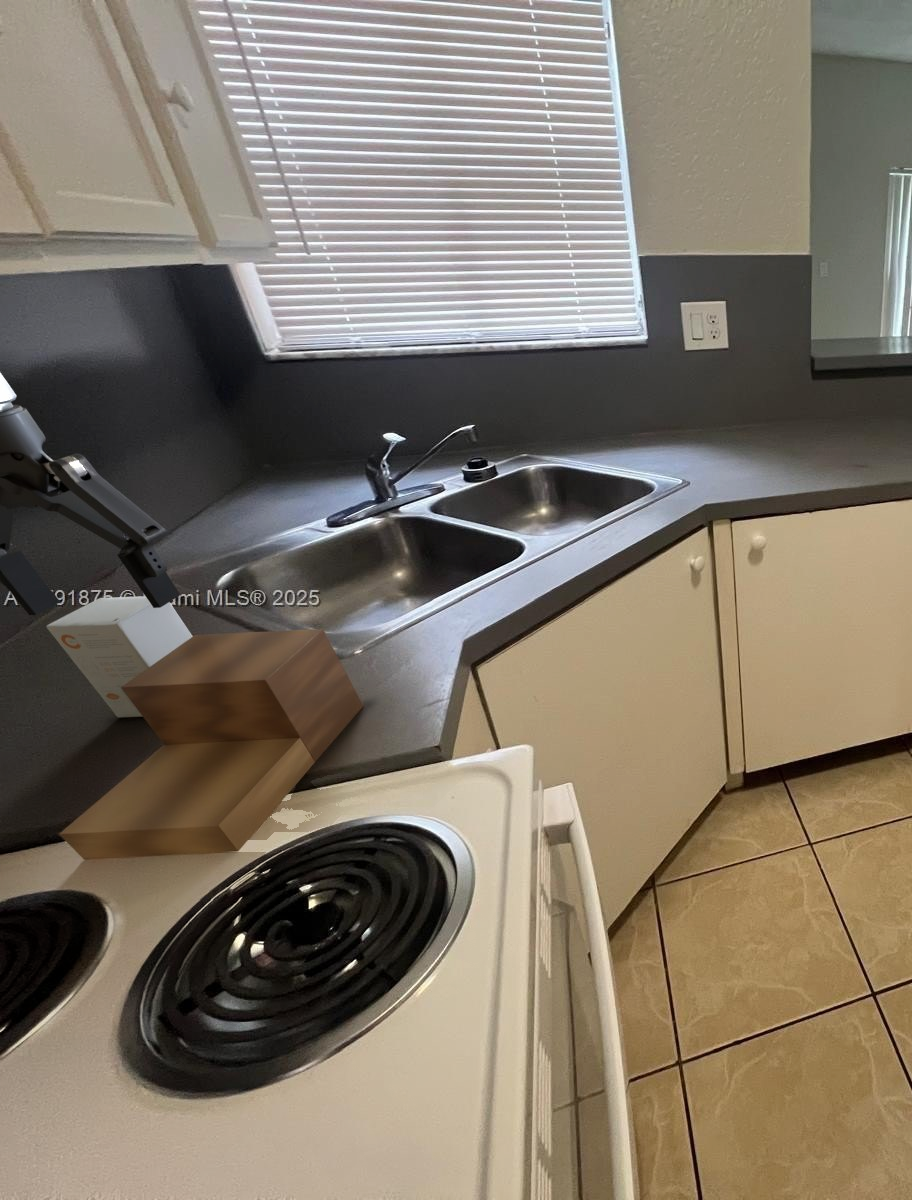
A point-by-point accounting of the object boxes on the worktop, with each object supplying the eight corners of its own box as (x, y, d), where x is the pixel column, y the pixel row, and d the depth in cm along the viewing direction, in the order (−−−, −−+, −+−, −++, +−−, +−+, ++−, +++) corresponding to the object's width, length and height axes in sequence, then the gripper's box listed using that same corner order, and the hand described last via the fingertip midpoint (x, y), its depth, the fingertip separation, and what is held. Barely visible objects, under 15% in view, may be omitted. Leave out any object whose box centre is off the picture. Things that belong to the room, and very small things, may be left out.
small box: (225, 682, 79) (167, 593, 72) (182, 716, 74) (115, 624, 67) (163, 684, 79) (99, 596, 72) (115, 718, 74) (42, 626, 67)
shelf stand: (83, 859, 57) (-2, 773, 51) (245, 712, 74) (194, 634, 68) (238, 851, 57) (170, 764, 51) (363, 706, 74) (323, 628, 68)
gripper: (132, 394, 62) (243, 581, 73) (-120, 409, 62) (29, 594, 73) (57, 414, 55) (191, 616, 66) (-225, 430, 55) (-44, 630, 66)
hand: (106, 605), depth 69 cm, fingers open, 13 cm apart
